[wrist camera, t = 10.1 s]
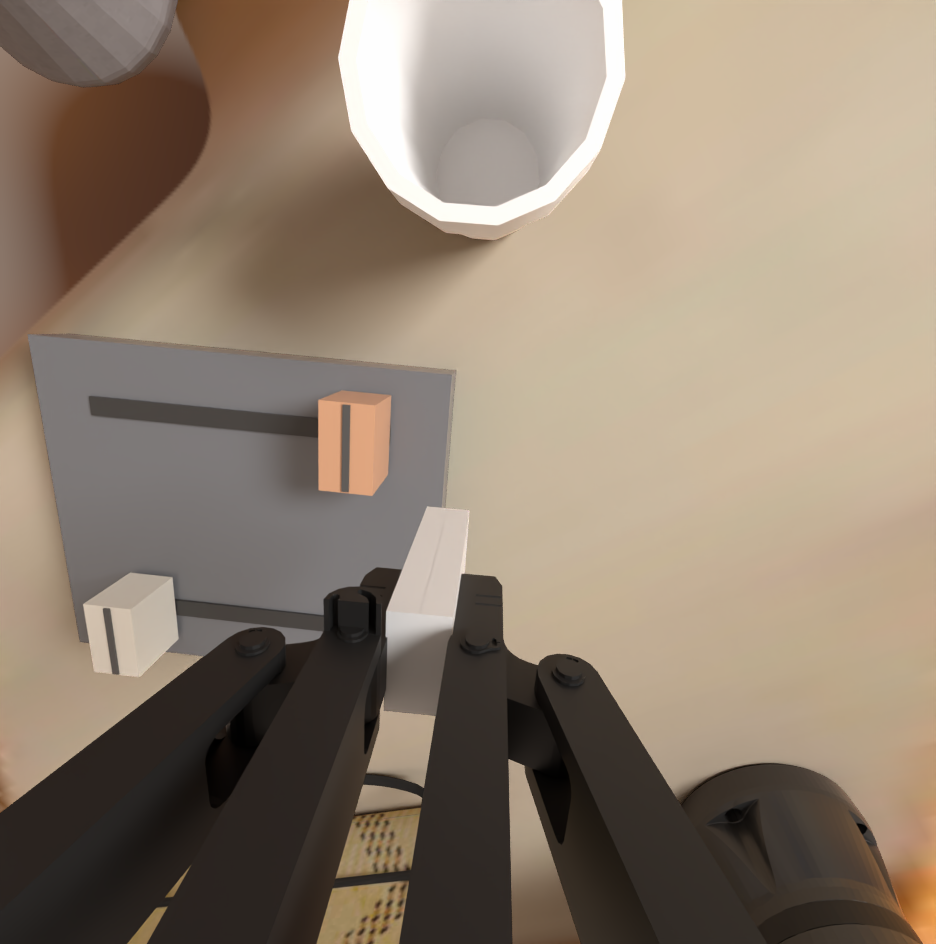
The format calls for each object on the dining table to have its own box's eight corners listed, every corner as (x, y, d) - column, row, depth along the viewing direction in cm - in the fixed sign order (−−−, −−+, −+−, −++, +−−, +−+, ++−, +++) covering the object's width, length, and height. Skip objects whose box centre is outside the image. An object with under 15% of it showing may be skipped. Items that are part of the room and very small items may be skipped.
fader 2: (388, 474, 30) (371, 496, 27) (340, 469, 31) (317, 490, 27) (391, 395, 29) (374, 405, 25) (341, 390, 29) (317, 400, 25)
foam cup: (574, 255, 29) (630, 203, 17) (424, 279, 30) (372, 246, 18) (560, 70, 27) (614, -154, 14) (396, 102, 28) (313, -82, 15)
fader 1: (178, 638, 35) (138, 678, 31) (138, 634, 35) (93, 672, 31) (172, 577, 34) (129, 610, 30) (130, 572, 34) (81, 604, 30)
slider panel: (433, 655, 38) (427, 683, 35) (110, 618, 39) (77, 643, 36) (456, 370, 32) (451, 375, 29) (69, 333, 32) (24, 334, 29)
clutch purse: (452, 751, 41) (428, 981, 26) (471, 813, 43) (458, 1060, 28) (138, 796, 44) (-33, 1020, 30) (168, 851, 46) (21, 1087, 32)
